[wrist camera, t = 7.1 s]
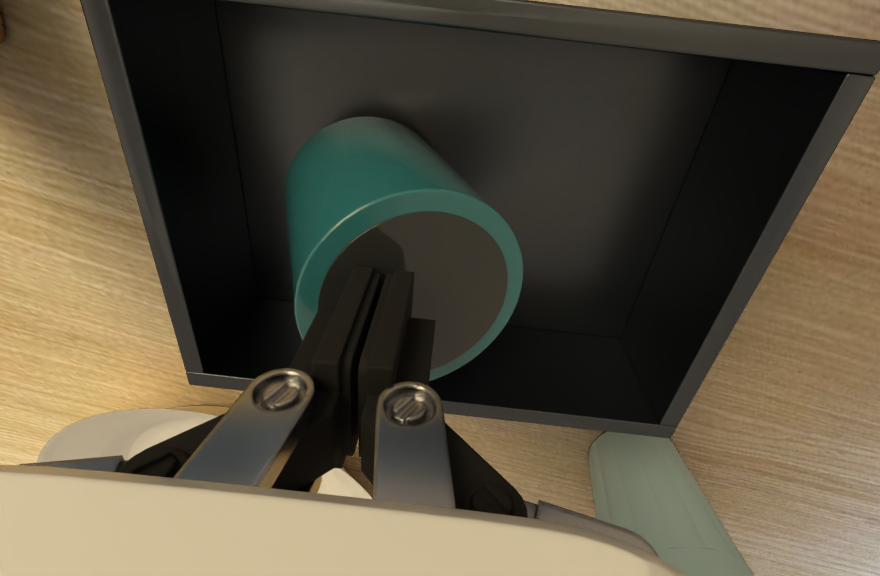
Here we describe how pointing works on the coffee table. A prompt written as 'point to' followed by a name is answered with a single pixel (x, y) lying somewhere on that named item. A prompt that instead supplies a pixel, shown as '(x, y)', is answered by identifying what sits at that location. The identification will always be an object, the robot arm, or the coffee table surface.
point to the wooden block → (2, 31)
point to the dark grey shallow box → (487, 174)
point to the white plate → (154, 439)
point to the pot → (399, 234)
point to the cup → (661, 504)
